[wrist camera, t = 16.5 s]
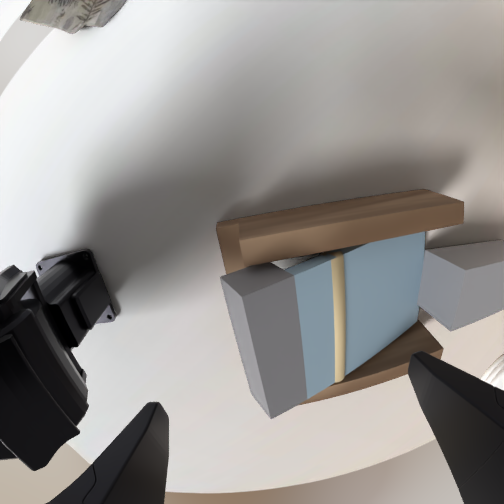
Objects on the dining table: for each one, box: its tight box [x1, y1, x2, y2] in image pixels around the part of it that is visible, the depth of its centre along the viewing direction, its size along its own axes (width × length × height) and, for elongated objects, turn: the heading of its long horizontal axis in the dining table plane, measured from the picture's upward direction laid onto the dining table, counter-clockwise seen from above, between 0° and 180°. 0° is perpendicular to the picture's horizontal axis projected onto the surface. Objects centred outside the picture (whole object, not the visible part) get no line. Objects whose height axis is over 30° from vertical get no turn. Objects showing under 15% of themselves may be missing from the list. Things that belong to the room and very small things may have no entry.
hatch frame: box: [216, 189, 464, 405], centre depth 20 cm, size 14×16×5 cm
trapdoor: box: [220, 232, 425, 419], centre depth 19 cm, size 10×16×3 cm, turn 100°
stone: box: [417, 240, 504, 331], centre depth 19 cm, size 5×5×12 cm
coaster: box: [480, 355, 504, 390], centre depth 29 cm, size 10×10×4 cm
